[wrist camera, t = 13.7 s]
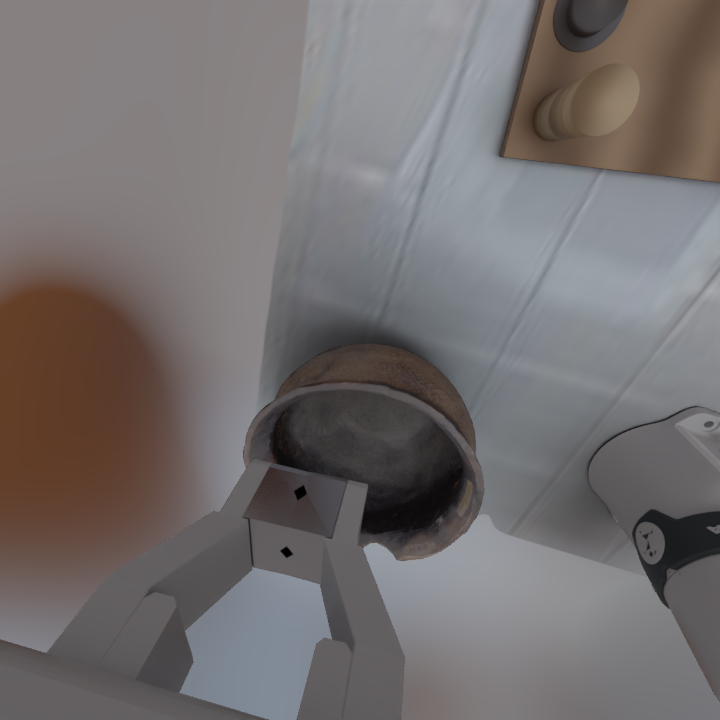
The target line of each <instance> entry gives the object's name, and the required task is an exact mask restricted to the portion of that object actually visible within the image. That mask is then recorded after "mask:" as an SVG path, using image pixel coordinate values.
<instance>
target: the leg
mask: <svg viewBox="0 0 720 720" xmlns="http://www.w3.org/2000/svg"><path fill="white" fill-rule="evenodd" d="M628 1H629V0H570V3H569V6H568V10H567V23H568V26H569V28H570V30H571V31H572V32H573V33H574V34H575V35H577V36H579V37H589V36H592V35H595V34H597V33H598V32H600V31H601V30H602V29H604V28H605V27H606V26H608V25H609V24H610V23H612V22H613V21H614V20H615V19H616V18H617V17H618V16H619V15H620V14H621V13H622V12H623V10H624V8H625V7H626V5H627V3H628Z"/></svg>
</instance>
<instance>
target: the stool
mask: <svg viewBox="0 0 720 720" xmlns="http://www.w3.org/2000/svg"><path fill="white" fill-rule="evenodd" d="M569 3H570V0H541V1H540V5H539V9H538V12H537V16H536V20H535V24H534V28H533V32H532V35H531V39H530V43H529V47H528V51H527V54H526V58H525V62H524V66H523V70H522V74H521V77H520V81H519V85H518V89H517V93H516V97H515V100H514V104H513V108H512V112H511V116H510V120H509V123H508V127H507V131H506V135H505V139H504V143H503V146H502V150H501V154H500V157H508V158H517V159H525V160H534V161H542V162H551V163H559V164H568V165H576V166H585V167H593V168H602V169H610V170H619V171H627V172H636V173H644V174H653V175H661V176H669V177H678V178H686V179H695V180H703V181H712V182H720V0H629V1H628V3H627V5H626V7H625V8H624V10H623V12H622V13H621V14H620V15H619V16H618V17H617V18H616V19H615V20H614V21H613V22H612V23H610V24H609V25H608V26H606V27H605V28H604V29H602V30H601V31H600V32H598V33H597V34H595V35H592V36H589V37H579V36H577V35H575V34H574V33H573V32H572V31H571V30H570V28H569V26H568V23H567V10H568V6H569Z"/></svg>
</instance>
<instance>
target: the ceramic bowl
mask: <svg viewBox="0 0 720 720" xmlns="http://www.w3.org/2000/svg"><path fill="white" fill-rule="evenodd" d="M475 453H476V440H475V431H474V427H473V423H472V420H471V418H470V416H469V413H468V411H467V408H466V406H465V404H464V402H463V400H462V398H461V396H460V395H459V394H458V392H457V390H456V389H455V387H454V386H453V385H452V383H451V382H450V381H449V380H448V379H447V378H446V377H445V376H444V375H443V374H442V373H441V372H440V371H439V370H438V369H437V368H436V367H434V366H433V365H432V364H430V363H429V362H427V361H426V360H424V359H422V358H420V357H419V356H417V355H415V354H412V353H410V352H408V351H406V350H403V349H400V348H396V347H392V346H387V345H380V344H352V345H345V346H339V347H336V348H332V349H330V350H327V351H325V352H323V353H321V354H319V355H317V356H316V357H314V358H313V359H311V360H310V361H308V362H306V363H305V364H303V365H301V366H300V367H299V368H298V369H297V370H296V371H294V372H293V373H292V374H291V375H290V376H289V378H288V379H287V380H286V381H285V382H284V383H283V385H282V386H281V388H280V390H279V392H278V394H277V396H276V398H275V400H274V401H273V402H271V403H269V404H268V405H267V406H265V407H264V408H263V409H262V410H261V411H260V412H259V413H258V414H257V416H256V417H255V418H254V419H253V421H252V423H251V425H250V427H249V430H248V432H247V435H246V440H245V446H244V450H243V458H244V463H245V466H246V468H247V466H248V465H249V463H250V462H252V461H253V460H254V459H257V460H262V461H266V462H270V463H275V464H279V465H283V466H287V467H291V468H295V469H299V470H303V471H307V472H314V473H319V474H324V475H329V476H334V477H339V478H343V479H348V480H351V481H356V482H360V483H365V484H368V490H367V496H366V501H365V507H364V513H363V519H362V525H361V531H360V536H359V541H358V546H362V548H364V547H365V546H367V545H368V544H370V543H378V544H380V545H382V546H384V547H386V548H387V549H388V550H389V551H390V552H391V553H392V554H393V555H394V556H395V558H396V560H400V561H406V560H416V559H423V558H426V557H429V556H432V555H434V554H436V553H438V552H440V551H442V550H443V549H445V548H446V547H448V546H449V545H451V544H452V543H453V542H454V541H455V540H457V539H458V538H459V537H460V536H461V535H462V534H464V533H466V532H467V531H468V529H469V527H470V526H471V524H472V522H473V521H474V520H475V519H476V518H477V515H478V512H479V509H480V507H481V504H482V500H483V495H484V486H483V476H482V470H481V467H480V465H479V462H478V460H477V458H476V455H475Z"/></svg>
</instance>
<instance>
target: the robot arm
mask: <svg viewBox="0 0 720 720" xmlns="http://www.w3.org/2000/svg"><path fill="white" fill-rule="evenodd" d="M706 422H707V423H706ZM588 477H589V482H590V485H591V487H592V489H593V490H594V492H595V493H596V494H597V495H598V496H599V497H600V498H601V499H602V501H603V502H604V503H605V504H606V506H607V507H608V508H609V510H610V513H611V515H612V516H613V518H614V520H615V521H616V522H617V523H618V524H620V525H621V527H622V528H623V530H624V531H625V533H626V534H627V536H628V537H629V539H630V540H631V542H632V543H633V545H634V546H635V548H636V550H637V553H638V555H639V558H640V561H641V564H642V566H643V568H644V570H645V572H646V574H647V576H648V578H649V580H650V582H651V583H652V587H653V588H654V590H655V592H656V593H657V595H658V596H659V598H660V600H661V601H662V603H663V604H664V605H665V606H666V607H668V608H669V609H670V610H671V612H672V614H673V615H674V617H675V619H676V621H677V623H678V625H679V627H680V629H681V631H682V633H683V635H684V637H685V639H686V641H687V643H688V645H689V647H690V648H691V651H692V652H693V654H694V656H695V658H696V660H697V662H698V664H699V666H700V668H701V670H702V672H703V674H704V676H705V677H706V679H707V681H708V683H709V685H710V687H711V689H712V691H713V693H714V695H715V696H716V697H717V699H718V700H719V701H720V414H719V413H716V412H714V411H711V410H708V409H705V408H702V407H694V408H690V409H687V410H685V411H683V412H681V413H679V414H677V415H675V416H673V417H671V418H669V419H668V420H665V421H662V422H658V423H654V424H650V425H645V426H641V427H638V428H635V429H632V430H629V431H627V432H625V433H623V434H621V435H619V436H617V437H615V438H614V439H612V440H611V441H609V442H608V443H607V444H605V445H604V446H603V447H602V448H601V449H600V450H599V451H598V452H597V453H596V455H595V456H594V458H593V460H592V461H591V464H590V467H589V472H588ZM367 490H368V484H365V483H360V482H356V481H351V480H348V479H343V478H339V477H334V476H329V475H324V474H319V473H314V472H307V471H303V470H299V469H295V468H291V467H287V466H283V465H279V464H275V463H270V462H266V461H262V460H257V459H254V460H253V461H252V462H250V463H249V465H248V466H247V468H246V470H245V471H244V473H243V475H242V476H241V478H240V479H239V481H238V483H237V484H236V486H235V488H234V489H233V491H232V493H231V494H230V496H229V497H228V499H227V501H226V502H225V504H224V506H223V507H222V509H221V511H220V512H216V511H213V512H211V513H210V514H208V515H206V516H205V517H203V518H201V519H200V520H198V521H196V522H195V523H193V524H192V525H190V526H188V527H187V528H185V529H183V530H182V531H180V532H179V533H177V534H175V535H174V536H172V537H170V538H169V539H167V540H165V541H164V542H162V543H160V544H159V545H157V546H156V547H154V548H153V549H151V550H149V551H147V552H146V553H144V554H142V555H141V556H140V557H138V558H136V559H134V560H133V561H131V562H129V563H128V564H126V565H125V566H123V567H121V568H120V569H118V570H116V571H115V572H113V573H111V574H110V575H108V576H107V577H106V578H105V579H104V580H103V582H102V583H101V584H100V586H99V587H98V588H97V589H96V591H95V592H94V593H93V595H92V596H91V597H90V598H89V600H88V601H87V602H86V603H85V605H84V606H83V607H82V608H81V610H80V611H79V612H78V614H77V615H76V616H75V617H74V619H73V620H72V621H71V623H70V624H69V625H68V626H67V627H66V629H65V630H64V632H63V633H62V634H61V635H60V636H59V638H58V639H57V640H56V641H55V643H54V644H53V645H52V647H51V648H50V649H49V650H48V652H47V653H44V652H41V651H37V650H34V649H31V648H27V647H24V646H20V645H17V644H14V643H11V642H7V641H4V640H0V720H268V719H265V718H261V717H258V716H255V715H251V714H248V713H244V712H241V711H238V710H235V709H231V708H228V707H225V706H221V705H218V704H215V703H211V702H208V701H204V700H201V699H198V698H194V697H191V696H188V695H184V694H181V693H179V692H180V690H181V688H182V685H183V683H184V681H185V679H186V677H187V675H188V673H189V670H190V668H191V666H192V664H193V657H192V652H191V649H190V646H189V643H188V640H187V637H186V633H185V630H186V629H187V628H188V627H190V626H191V625H192V624H193V623H194V622H195V621H196V620H197V619H198V618H199V617H201V616H202V615H203V614H204V613H205V612H206V611H207V610H208V609H209V608H210V607H212V606H213V605H214V604H215V603H216V602H217V601H218V600H219V599H220V598H221V597H223V596H224V595H225V594H226V593H227V592H228V591H229V590H230V589H231V588H233V586H235V585H236V584H237V583H238V582H239V581H240V580H241V579H242V578H243V577H245V576H246V575H247V574H248V573H249V572H250V571H251V570H252V567H254V568H259V569H263V570H268V571H272V572H277V573H282V574H286V575H289V576H293V577H297V578H300V579H303V580H307V581H311V582H314V583H317V584H320V587H321V592H322V596H323V601H324V605H325V609H326V614H327V618H328V623H329V627H330V632H331V636H332V639H328V638H323V639H322V640H321V641H320V642H318V643H317V644H316V647H315V651H314V655H313V659H312V663H311V667H310V670H309V674H308V678H307V682H306V686H305V689H304V693H303V697H302V701H301V705H300V709H299V712H298V716H297V720H401V712H402V697H403V681H404V664H405V656H404V654H403V651H402V648H401V646H400V643H399V641H398V638H397V635H396V633H395V630H394V628H393V625H392V623H391V620H390V618H389V615H388V612H387V610H386V607H385V605H384V602H383V599H382V597H381V594H380V592H379V589H378V586H377V584H376V581H375V579H374V576H373V574H372V571H371V569H370V566H369V563H368V561H367V558H366V555H365V553H364V550H363V548H362V546H358V541H359V536H360V531H361V525H362V519H363V513H364V507H365V501H366V496H367Z"/></svg>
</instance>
